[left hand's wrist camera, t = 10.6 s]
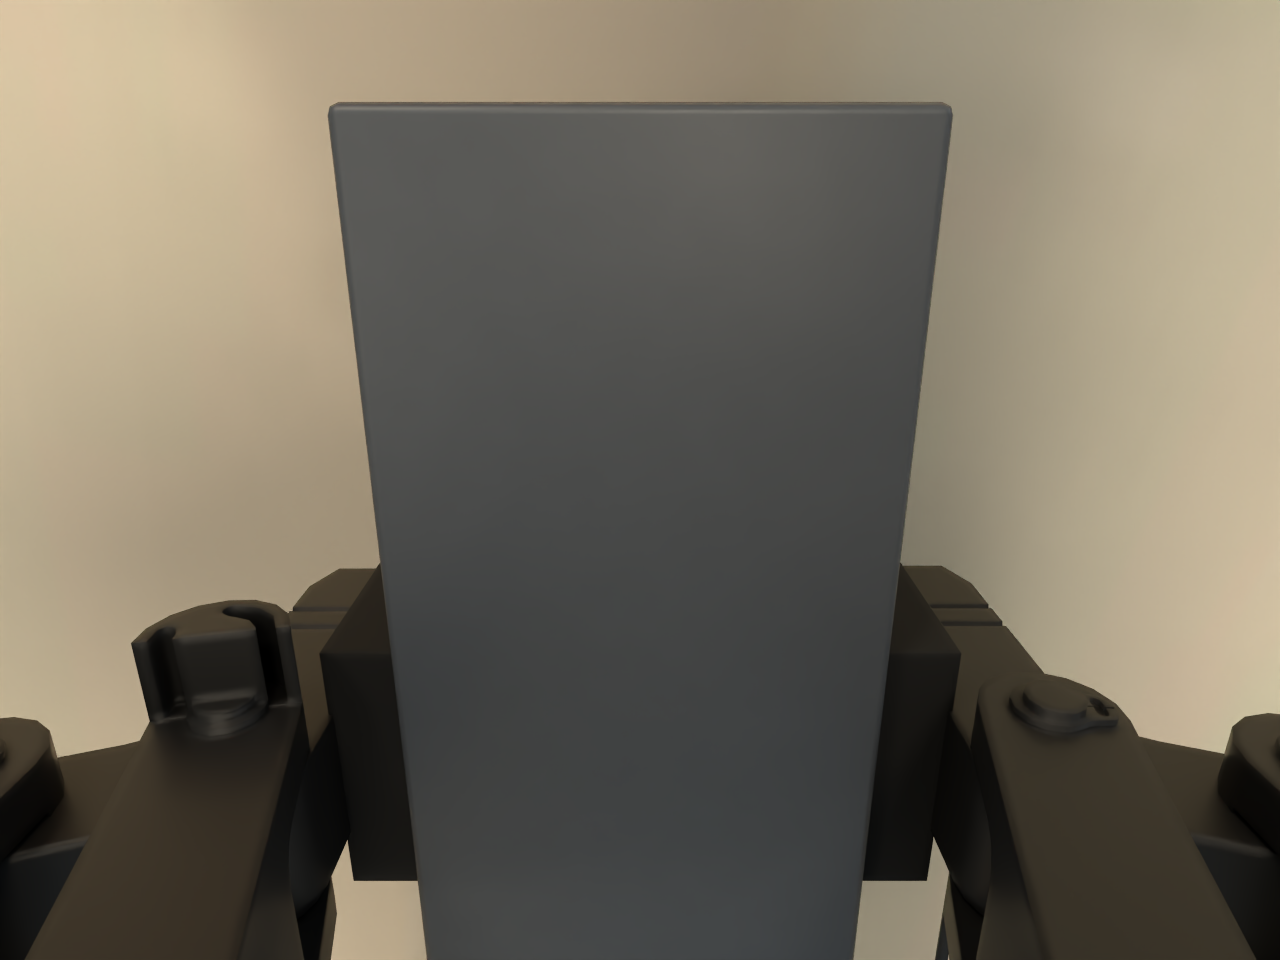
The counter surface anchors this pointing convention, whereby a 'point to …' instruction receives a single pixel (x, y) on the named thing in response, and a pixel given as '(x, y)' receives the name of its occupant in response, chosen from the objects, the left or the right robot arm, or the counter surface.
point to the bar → (640, 503)
